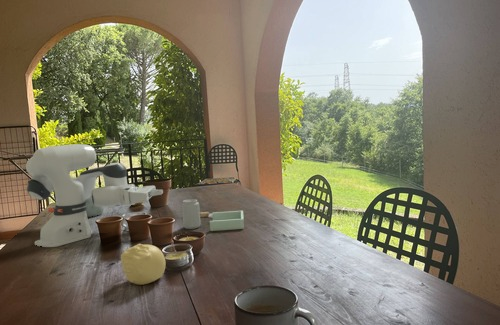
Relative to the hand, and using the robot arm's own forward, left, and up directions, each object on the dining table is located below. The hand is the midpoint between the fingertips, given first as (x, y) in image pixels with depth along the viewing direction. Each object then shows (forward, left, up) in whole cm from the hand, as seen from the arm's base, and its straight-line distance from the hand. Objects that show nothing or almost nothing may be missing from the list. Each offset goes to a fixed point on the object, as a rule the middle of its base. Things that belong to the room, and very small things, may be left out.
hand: (162, 192), depth 169 cm
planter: (+10, +58, -16) cm, 61 cm away
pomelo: (-47, -33, -16) cm, 60 cm away
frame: (+12, -24, -16) cm, 31 cm away
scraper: (+22, -2, -16) cm, 27 cm away
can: (+5, -11, -16) cm, 20 cm away
